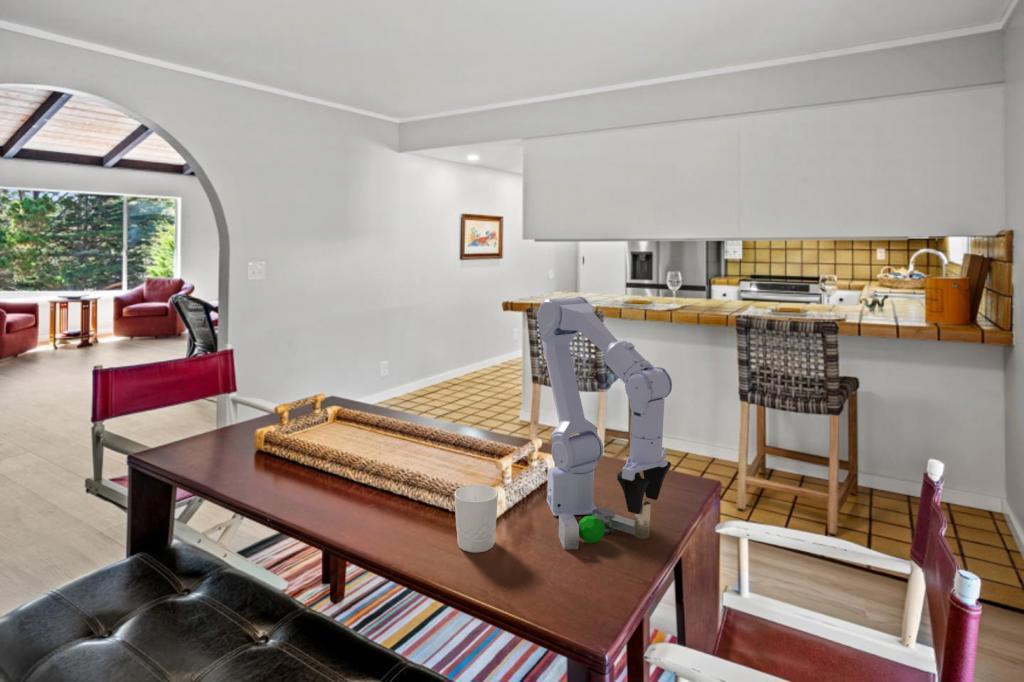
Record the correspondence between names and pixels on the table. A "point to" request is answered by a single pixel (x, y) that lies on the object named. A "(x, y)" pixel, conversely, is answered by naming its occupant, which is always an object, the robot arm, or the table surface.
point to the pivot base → (609, 530)
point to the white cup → (476, 517)
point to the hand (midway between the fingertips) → (643, 505)
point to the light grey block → (568, 531)
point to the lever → (626, 520)
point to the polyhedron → (591, 529)
